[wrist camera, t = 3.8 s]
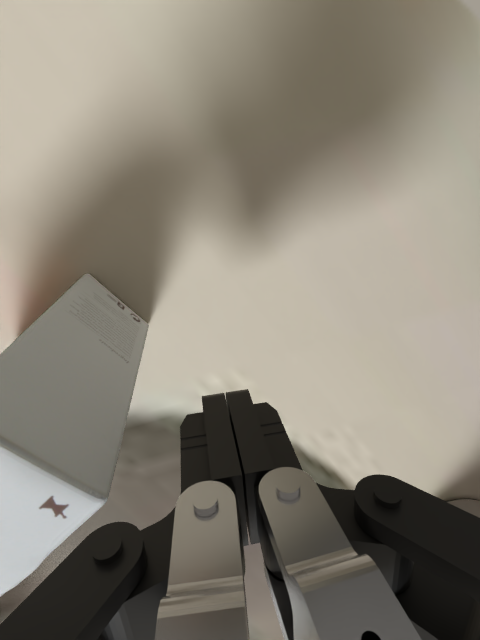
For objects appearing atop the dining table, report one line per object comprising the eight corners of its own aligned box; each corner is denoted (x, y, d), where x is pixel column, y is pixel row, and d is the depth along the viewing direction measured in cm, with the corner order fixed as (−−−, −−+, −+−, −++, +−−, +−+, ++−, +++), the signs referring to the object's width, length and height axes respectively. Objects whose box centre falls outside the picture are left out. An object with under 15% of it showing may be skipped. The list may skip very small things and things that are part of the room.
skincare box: (86, 268, 18) (-55, 403, 7) (151, 323, 20) (116, 504, 9) (8, 349, 19) (-224, 581, 8) (76, 396, 21) (-41, 644, 10)
